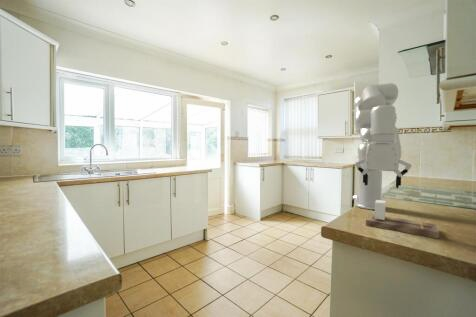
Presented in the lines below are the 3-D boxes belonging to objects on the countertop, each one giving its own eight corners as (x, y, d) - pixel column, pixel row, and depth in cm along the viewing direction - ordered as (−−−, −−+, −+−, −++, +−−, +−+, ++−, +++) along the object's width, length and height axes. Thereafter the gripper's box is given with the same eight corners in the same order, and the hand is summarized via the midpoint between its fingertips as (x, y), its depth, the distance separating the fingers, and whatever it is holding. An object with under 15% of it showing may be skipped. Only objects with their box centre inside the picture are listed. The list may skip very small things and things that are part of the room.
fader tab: (374, 218, 81) (374, 202, 81) (375, 215, 85) (376, 199, 85) (384, 220, 79) (384, 203, 79) (385, 216, 83) (385, 200, 83)
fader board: (365, 225, 81) (366, 219, 81) (369, 218, 88) (369, 213, 88) (438, 238, 69) (439, 232, 69) (435, 230, 76) (435, 224, 76)
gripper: (354, 140, 83) (353, 185, 83) (412, 138, 72) (411, 190, 73) (357, 141, 89) (356, 183, 89) (412, 139, 78) (410, 187, 79)
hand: (381, 186), depth 81 cm, fingers open, 9 cm apart
